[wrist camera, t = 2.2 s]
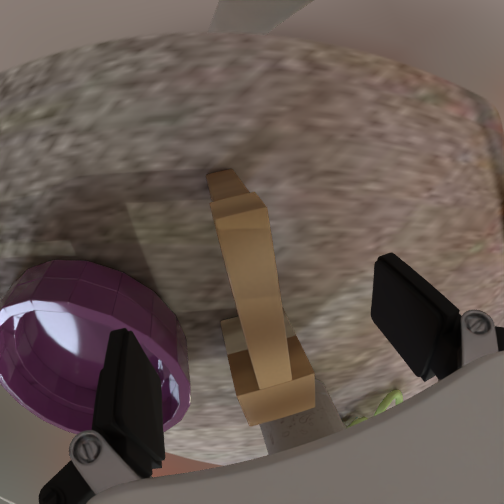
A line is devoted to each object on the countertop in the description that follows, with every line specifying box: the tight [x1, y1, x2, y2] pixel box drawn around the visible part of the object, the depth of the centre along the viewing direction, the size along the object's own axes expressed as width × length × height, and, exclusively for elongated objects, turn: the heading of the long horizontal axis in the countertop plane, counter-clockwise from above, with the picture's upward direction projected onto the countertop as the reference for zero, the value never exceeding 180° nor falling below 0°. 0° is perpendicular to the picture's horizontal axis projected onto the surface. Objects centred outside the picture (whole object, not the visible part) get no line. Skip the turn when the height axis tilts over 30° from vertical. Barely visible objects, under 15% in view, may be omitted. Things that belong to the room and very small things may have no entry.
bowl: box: [0, 260, 191, 434], centre depth 18 cm, size 16×16×5 cm
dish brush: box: [206, 169, 315, 426], centre depth 18 cm, size 15×5×7 cm, turn 10°
